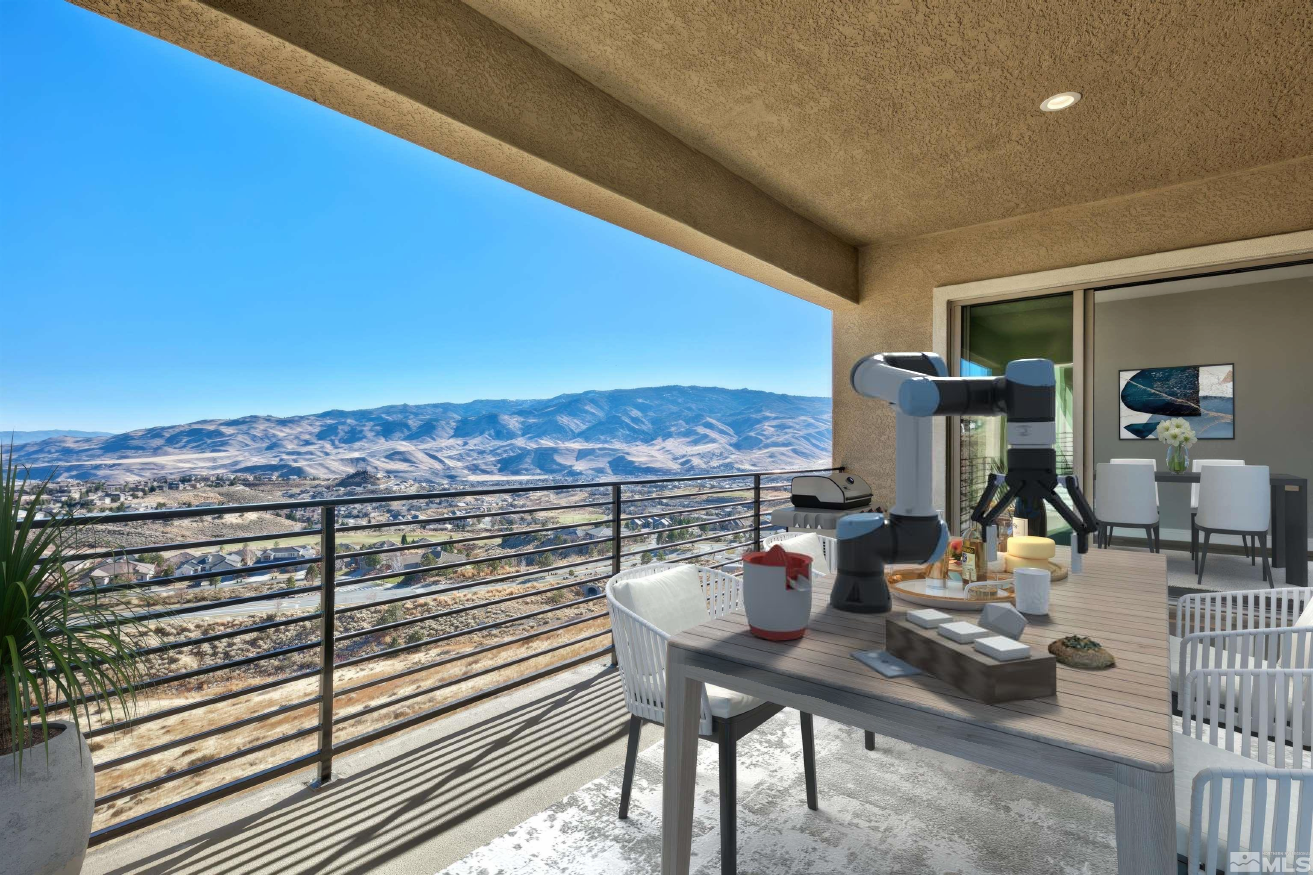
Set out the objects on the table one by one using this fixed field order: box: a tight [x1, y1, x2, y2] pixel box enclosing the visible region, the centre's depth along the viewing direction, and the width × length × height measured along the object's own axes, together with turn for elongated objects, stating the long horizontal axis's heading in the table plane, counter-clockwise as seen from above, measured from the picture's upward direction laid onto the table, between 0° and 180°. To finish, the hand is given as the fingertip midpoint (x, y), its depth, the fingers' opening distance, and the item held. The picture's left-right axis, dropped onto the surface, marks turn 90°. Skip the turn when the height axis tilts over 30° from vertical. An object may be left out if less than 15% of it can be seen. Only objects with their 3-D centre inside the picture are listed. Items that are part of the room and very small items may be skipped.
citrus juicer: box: [741, 543, 814, 642], centre depth 139 cm, size 16×17×20 cm
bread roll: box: [1047, 634, 1117, 669], centre depth 123 cm, size 11×11×5 cm
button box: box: [885, 612, 1057, 706], centre depth 117 cm, size 27×14×6 cm, turn 16°
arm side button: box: [906, 608, 953, 628], centre depth 126 cm, size 6×6×3 cm
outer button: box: [974, 636, 1030, 661], centre depth 109 cm, size 6×6×3 cm
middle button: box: [938, 621, 989, 643], centre depth 117 cm, size 6×6×3 cm
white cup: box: [1013, 566, 1052, 616], centre depth 155 cm, size 8×8×10 cm
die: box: [976, 602, 1029, 642], centre depth 134 cm, size 8×9×10 cm
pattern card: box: [850, 649, 922, 679], centre depth 121 cm, size 12×7×1 cm, turn 16°
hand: (1032, 566), depth 111 cm, fingers open, 13 cm apart
